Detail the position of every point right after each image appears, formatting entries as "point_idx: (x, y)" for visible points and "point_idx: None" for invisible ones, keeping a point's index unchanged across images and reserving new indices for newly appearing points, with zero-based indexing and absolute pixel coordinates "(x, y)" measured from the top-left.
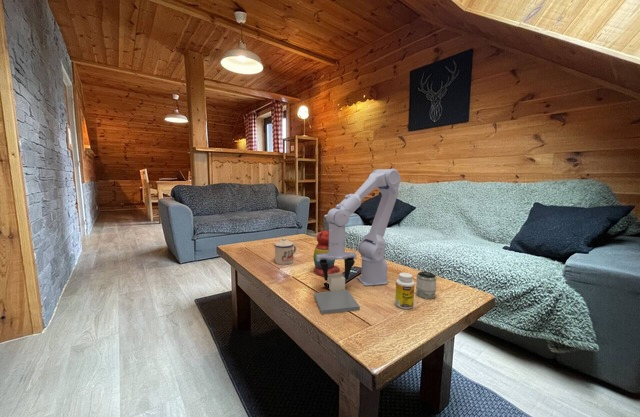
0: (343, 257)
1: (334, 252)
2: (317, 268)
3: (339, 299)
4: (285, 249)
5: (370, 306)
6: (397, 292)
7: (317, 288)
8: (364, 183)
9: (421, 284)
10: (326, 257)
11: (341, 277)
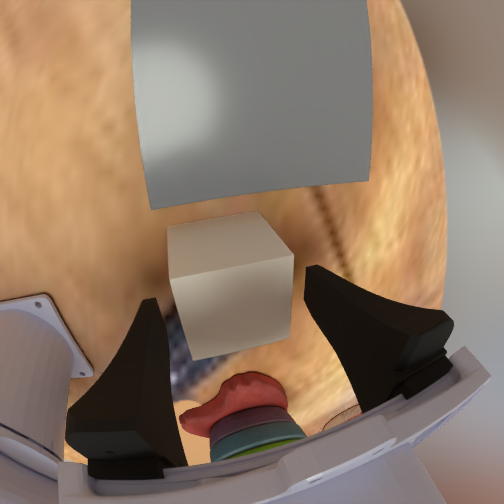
0: (242, 487)
1: (423, 494)
2: (282, 408)
3: (244, 63)
4: None
5: (54, 30)
6: None
7: (318, 264)
8: None
9: None
10: (447, 400)
11: (200, 294)
